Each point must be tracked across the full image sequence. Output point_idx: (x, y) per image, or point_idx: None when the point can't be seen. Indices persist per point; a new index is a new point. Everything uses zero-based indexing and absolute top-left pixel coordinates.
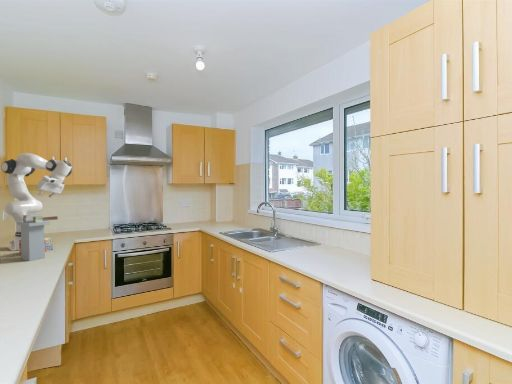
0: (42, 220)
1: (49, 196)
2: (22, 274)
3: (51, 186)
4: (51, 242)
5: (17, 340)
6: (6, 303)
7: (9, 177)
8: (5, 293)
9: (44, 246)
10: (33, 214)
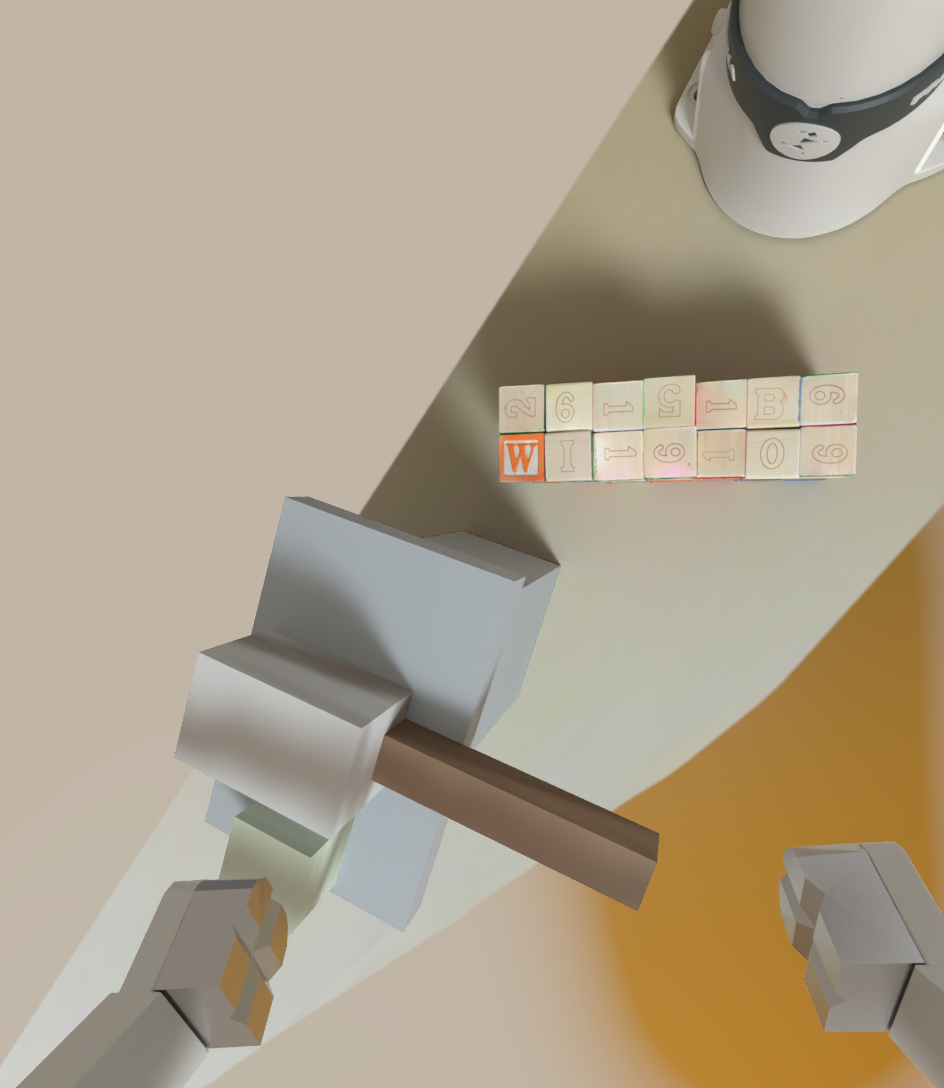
0: (322, 897)
1: (803, 894)
2: (216, 863)
3: None
4: (827, 478)
5: None
6: (4, 1069)
7: None
8: (51, 992)
9: (489, 730)
10: (290, 752)
